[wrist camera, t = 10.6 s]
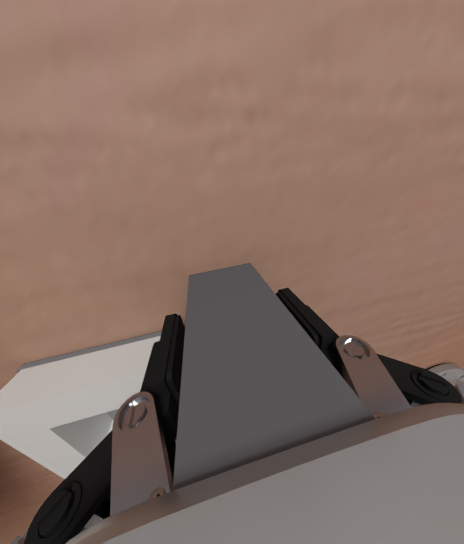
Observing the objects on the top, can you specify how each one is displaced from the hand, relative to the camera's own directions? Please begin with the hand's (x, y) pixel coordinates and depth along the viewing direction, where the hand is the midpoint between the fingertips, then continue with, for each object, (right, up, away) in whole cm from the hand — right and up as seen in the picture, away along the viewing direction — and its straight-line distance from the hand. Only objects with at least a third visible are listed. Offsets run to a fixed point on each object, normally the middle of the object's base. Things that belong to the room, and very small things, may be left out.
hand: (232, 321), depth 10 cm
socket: (-8, -11, +7) cm, 15 cm away
